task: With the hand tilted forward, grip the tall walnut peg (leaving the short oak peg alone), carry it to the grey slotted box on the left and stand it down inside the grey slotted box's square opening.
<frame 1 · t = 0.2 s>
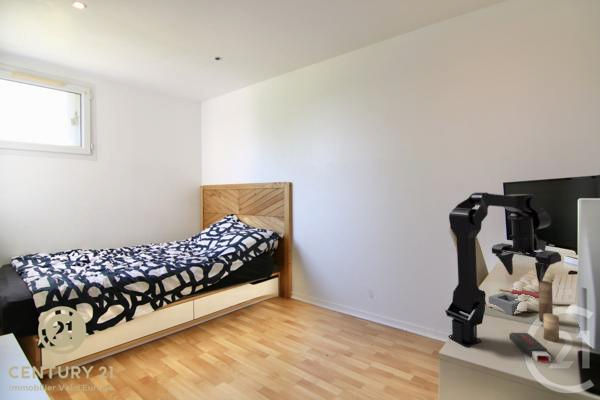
hand: (525, 278, 102), 14 cm above the table, tool pointing down, fingers open, 9 cm apart
tall peg: (545, 321, 101), on the table
grey slotted box: (507, 308, 112), on the table
usb drive: (530, 351, 86), on the table
short peg: (551, 339, 90), on the table
red screwdriver: (519, 295, 126), on the table
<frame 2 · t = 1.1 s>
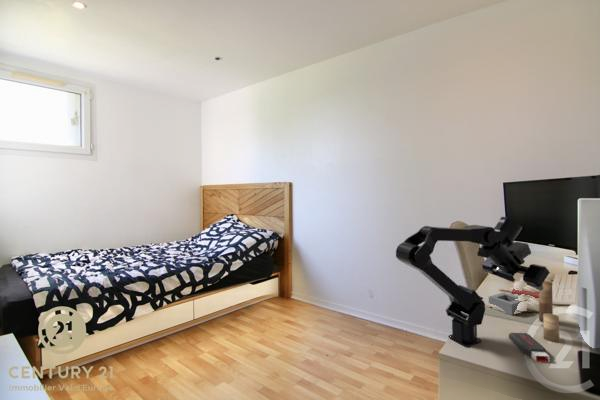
hand: (527, 285, 99), 13 cm above the table, tool tilted 45°, fingers open, 9 cm apart
nothing on the table moved.
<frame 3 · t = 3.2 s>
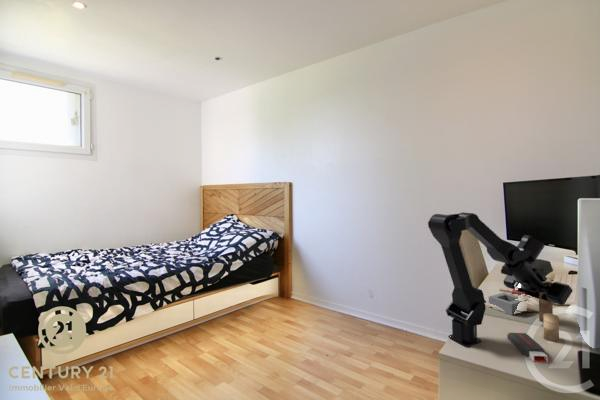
hand: (548, 300, 101), 7 cm above the table, tool tilted 45°, fingers closed on tall peg, 3 cm apart
tall peg: (545, 321, 101), on the table, touching gripper
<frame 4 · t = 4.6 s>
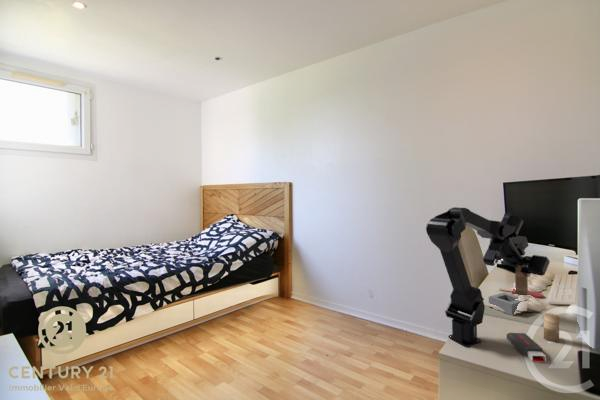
hand: (523, 274, 108), 13 cm above the table, tool tilted 45°, fingers closed on tall peg, 3 cm apart
tall peg: (521, 293, 108), point 7 cm above the table, touching gripper
everything else where it was.
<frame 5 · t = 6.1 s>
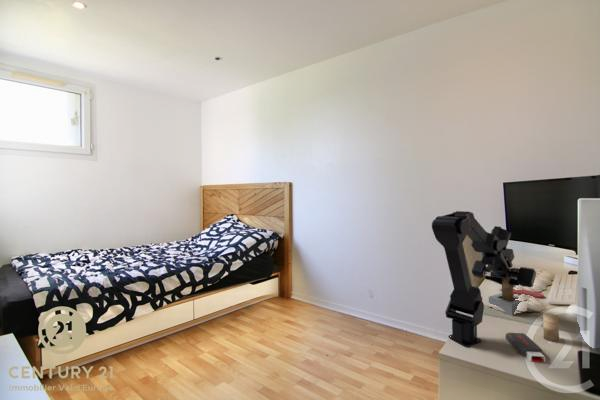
hand: (508, 285, 112), 9 cm above the table, tool tilted 45°, fingers closed on tall peg, 3 cm apart
tall peg: (507, 303, 112), point 2 cm above the table, touching gripper
when the fingers open (8 cm above the table, at t = 6.5 s): tall peg drops 1 cm, resting in grey slotted box.
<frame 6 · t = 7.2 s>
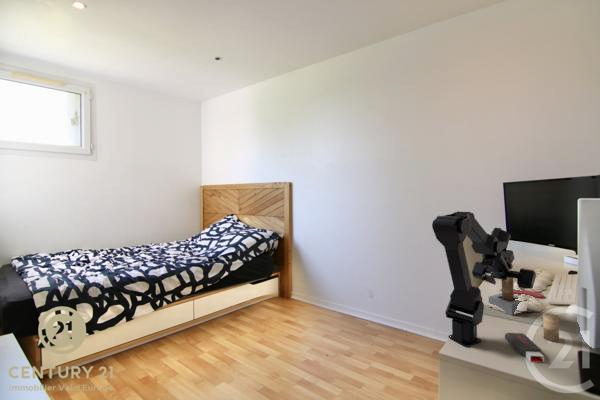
hand: (509, 286, 112), 8 cm above the table, tool tilted 45°, fingers open, 9 cm apart
tall peg: (508, 308, 112), resting in grey slotted box
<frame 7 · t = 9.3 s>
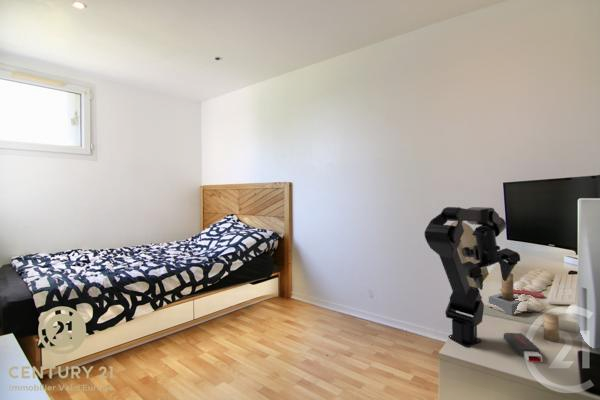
hand: (492, 284, 104), 12 cm above the table, tool tilted 15°, fingers open, 9 cm apart
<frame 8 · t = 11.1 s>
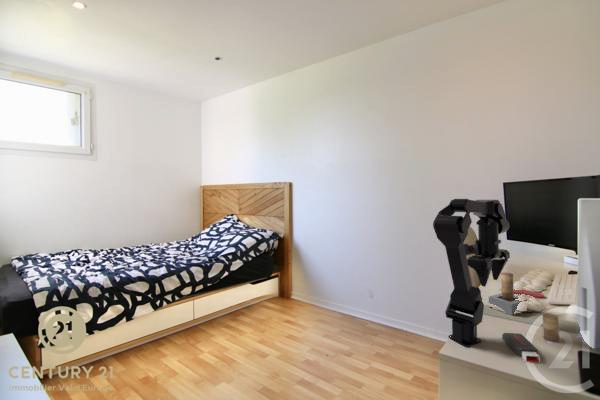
hand: (489, 282, 103), 13 cm above the table, tool pointing down, fingers open, 9 cm apart
at the end: tall peg 0.0 cm off-centre on the grey slotted box, point 0.0 cm above the grey slotted box's base; tall peg tilted 0°; short peg moved 0.0 cm from its start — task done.
